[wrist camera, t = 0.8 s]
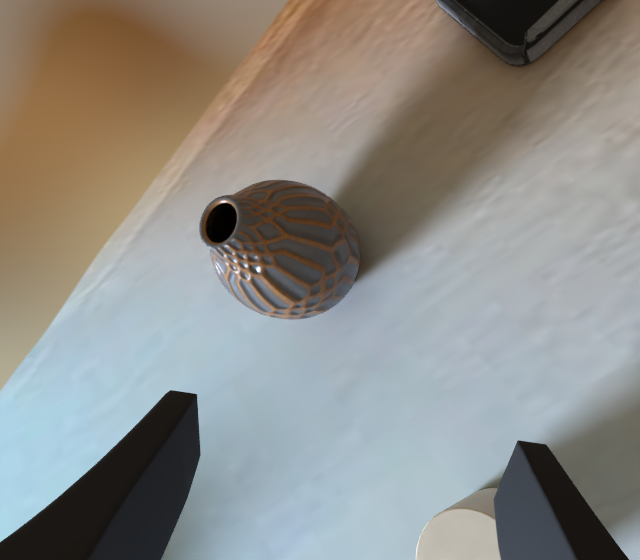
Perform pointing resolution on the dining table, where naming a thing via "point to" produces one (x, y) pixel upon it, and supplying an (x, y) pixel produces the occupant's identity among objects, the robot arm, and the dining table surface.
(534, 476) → the robot arm
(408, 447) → the dining table surface
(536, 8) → the phone
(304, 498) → the dining table surface
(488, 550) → the candle
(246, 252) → the vase
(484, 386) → the dining table surface
